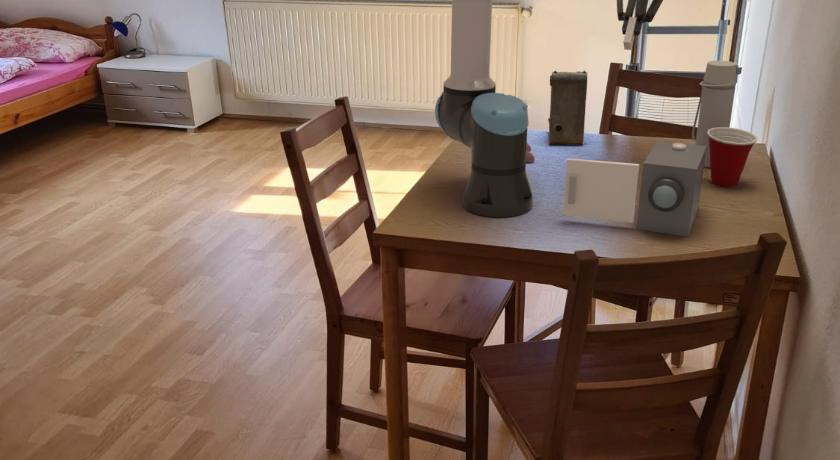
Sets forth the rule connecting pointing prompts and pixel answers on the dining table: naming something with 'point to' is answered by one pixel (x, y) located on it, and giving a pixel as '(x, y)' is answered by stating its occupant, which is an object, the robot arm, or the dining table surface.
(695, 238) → the dining table surface
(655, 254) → the dining table surface
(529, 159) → the video game controller
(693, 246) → the dining table surface
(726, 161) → the plastic cup
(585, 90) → the vintage camera
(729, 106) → the water bottle
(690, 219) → the camera housing
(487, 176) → the robot arm
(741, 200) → the dining table surface
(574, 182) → the side door
